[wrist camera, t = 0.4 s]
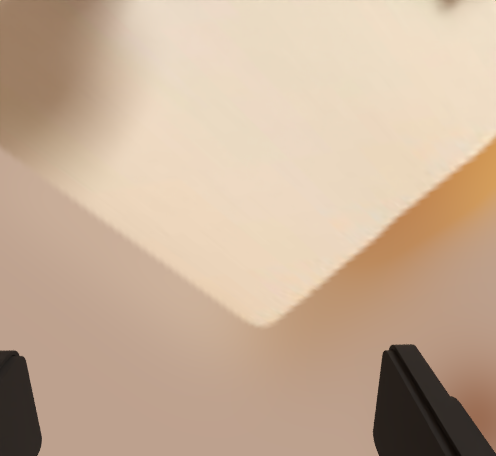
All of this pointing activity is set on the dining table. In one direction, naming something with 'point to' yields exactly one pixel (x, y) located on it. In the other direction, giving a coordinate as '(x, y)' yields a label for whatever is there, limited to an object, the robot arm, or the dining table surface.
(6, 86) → the dining table surface
